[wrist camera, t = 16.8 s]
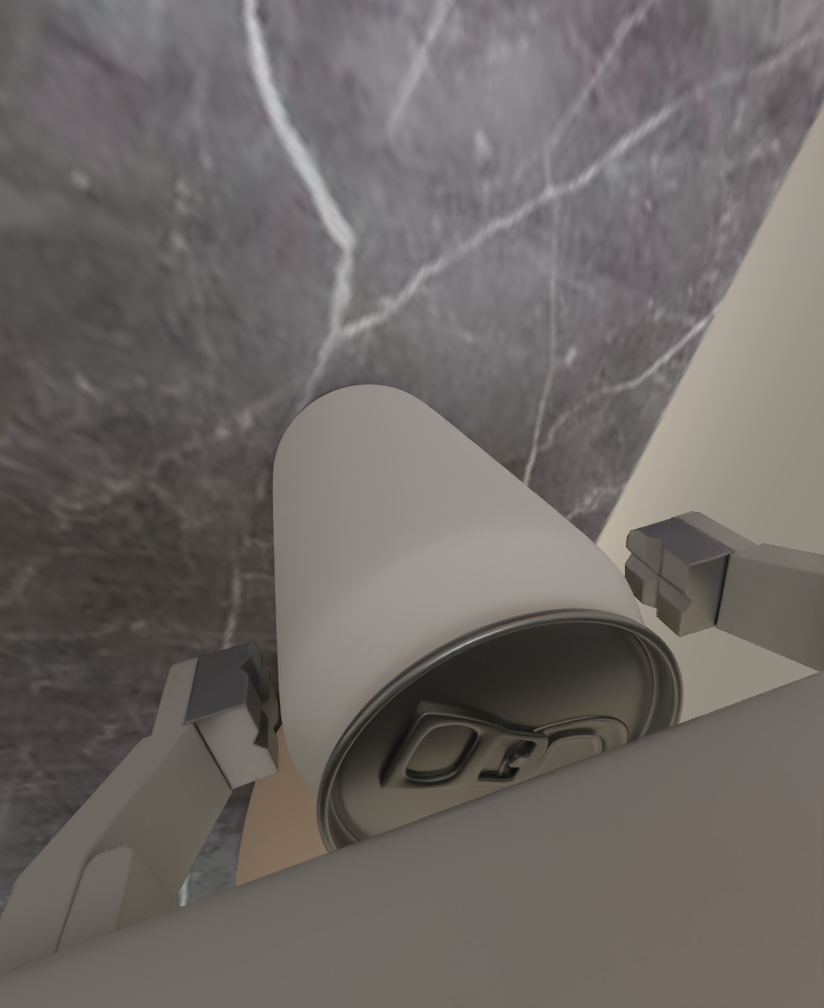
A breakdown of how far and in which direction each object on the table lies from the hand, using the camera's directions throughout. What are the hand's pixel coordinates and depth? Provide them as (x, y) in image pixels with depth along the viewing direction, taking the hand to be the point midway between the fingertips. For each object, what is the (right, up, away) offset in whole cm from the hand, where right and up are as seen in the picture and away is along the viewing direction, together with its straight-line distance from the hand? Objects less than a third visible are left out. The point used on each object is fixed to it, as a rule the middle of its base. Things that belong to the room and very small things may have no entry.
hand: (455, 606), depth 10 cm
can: (-3, +3, +7) cm, 9 cm away
